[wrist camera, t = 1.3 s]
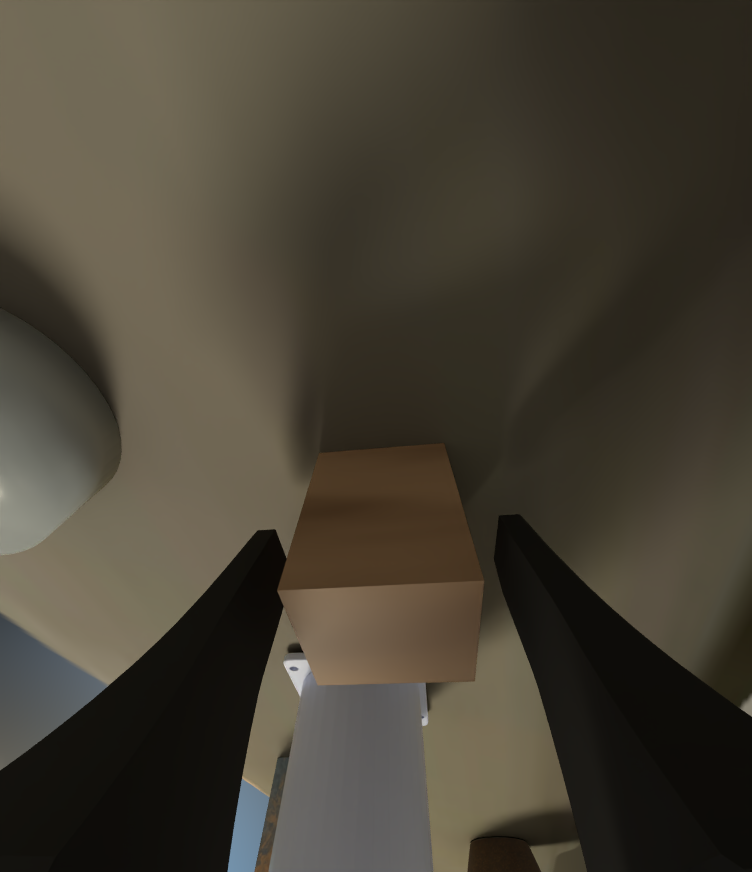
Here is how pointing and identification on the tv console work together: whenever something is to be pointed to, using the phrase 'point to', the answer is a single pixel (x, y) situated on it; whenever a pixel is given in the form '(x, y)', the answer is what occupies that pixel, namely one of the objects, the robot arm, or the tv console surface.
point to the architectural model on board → (271, 815)
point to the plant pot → (501, 855)
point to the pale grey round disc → (47, 436)
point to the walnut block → (384, 570)
